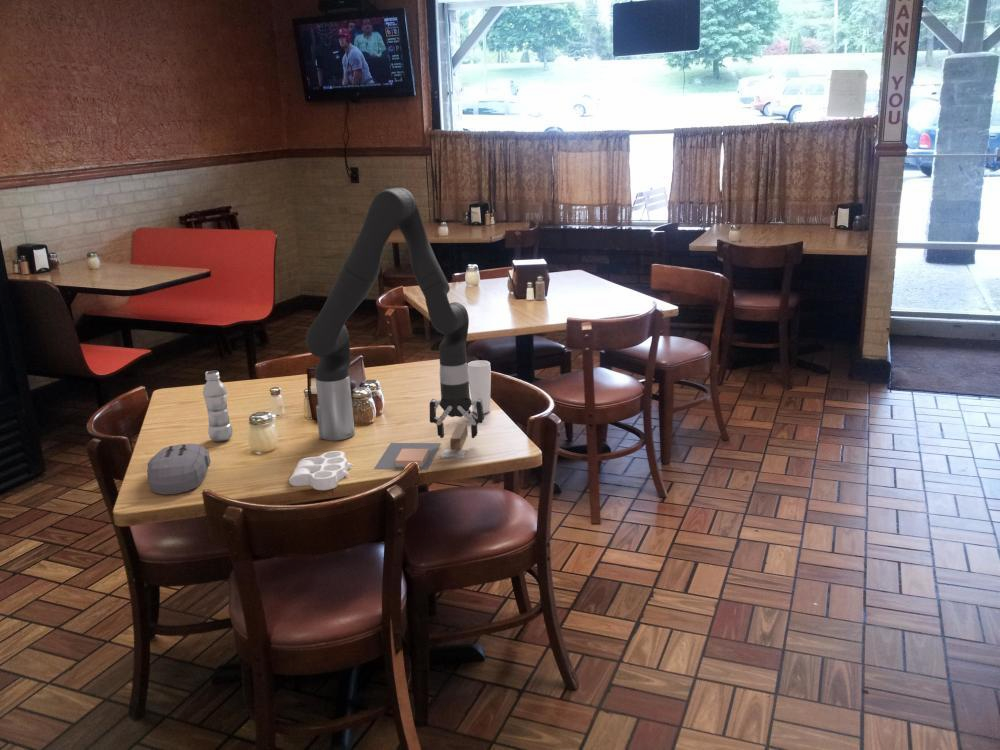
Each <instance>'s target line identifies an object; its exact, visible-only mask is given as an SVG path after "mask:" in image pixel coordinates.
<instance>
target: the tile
mask: <svg viewBox="0 0 1000 750" xmlns="http://www.w3.org/2000/svg"><path fill="white" fill-rule="evenodd" d="M428 457H429V449H402V450H401V452H400V453H399V455H398V457H397V458H396V460H395V464H396V468H405V467H406V466H407V465H408V464H409V463H411V462H417V463H418V465H419V468H423V467H424V465H425V463H426V461H427V459H428Z"/></svg>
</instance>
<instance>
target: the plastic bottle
mask: <svg viewBox="0 0 1000 750" xmlns="http://www.w3.org/2000/svg"><path fill="white" fill-rule="evenodd" d="M204 376H205V380H206V383H205V384H204V385H203V387H202V388H203V390H202V395H203V398H204V401H205V405H206V410H207V416H208V417H207V418H208V427H207V428H208V430H207V433H208V436H209V439H211V441H213V442H224V441H228V440H229V439H231V438H232V436H233V426H232V423H231V421H230V417H229V413H228V403H227V401H228V397H227V395H228V393H227V392H228V390H227V387H226V385H225V384H224V383H223V381H221V380H220V379H221V376H220V372H219V371H218V370H210V371H206V372H205V374H204Z"/></svg>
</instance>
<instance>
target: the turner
mask: <svg viewBox="0 0 1000 750" xmlns="http://www.w3.org/2000/svg"><path fill="white" fill-rule="evenodd" d="M468 431H469V430H468V423H467V422H458V423H457V424H456V426H455V428H454V430H453V432H452V434H451V436H450V439H449V441H450V449H443V452H442V454H441V456H440V459H465V457H466V455H467V454H468V453H467V452H468V449H463V447H464V444H465V442H466V441H467V438H468Z"/></svg>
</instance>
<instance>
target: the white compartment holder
mask: <svg viewBox="0 0 1000 750" xmlns="http://www.w3.org/2000/svg"><path fill="white" fill-rule="evenodd" d="M353 466H354V464H353V463H349V461H348V459H347V458H346V453H345V452H344V451H341V450H340V451H339V450H333V451H332V450H331V451H326V452H325V453H324V452H323V453H322V454H320V455H317V456H308V457H305V458H302V459H300V460H298V462H297V465H296V467H295V468H294V469H293V472H292V474H291V476H290V477H289V478H288V479H289V480H288V482H289V484H290V485H291V486H293V487H303V486H310V487H312V489H315V490H316V491H328V490H331V489H335V488H337V487H338V481H340V480H342V479H344V478H346V477H348V476H349V475H351V474H350V473H349V472H348V471H349V469H350V468H351V467H353Z"/></svg>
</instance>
